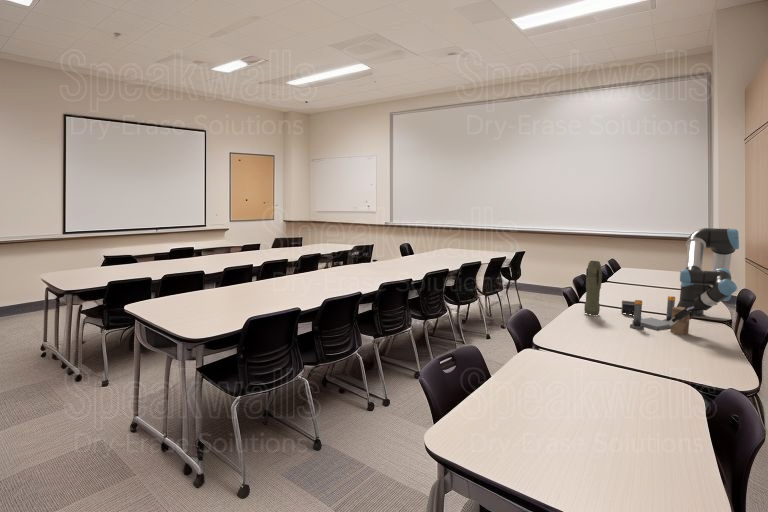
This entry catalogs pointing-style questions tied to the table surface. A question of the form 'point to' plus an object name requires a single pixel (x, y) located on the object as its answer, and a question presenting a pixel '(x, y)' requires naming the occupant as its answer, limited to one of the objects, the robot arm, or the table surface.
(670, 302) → the post
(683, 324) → the block
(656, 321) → the plate
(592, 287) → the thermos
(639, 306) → the post
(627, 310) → the electrical switch
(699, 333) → the table surface
